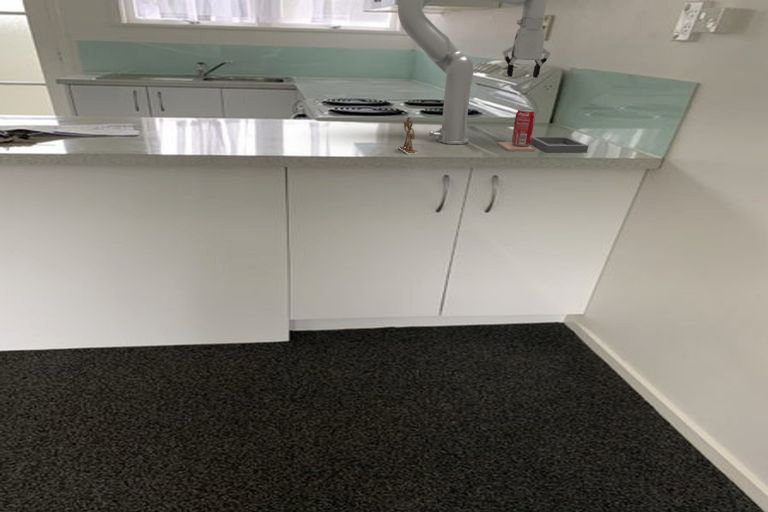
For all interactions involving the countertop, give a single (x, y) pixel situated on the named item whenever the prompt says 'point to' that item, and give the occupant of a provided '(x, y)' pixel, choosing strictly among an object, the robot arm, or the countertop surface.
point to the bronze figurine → (406, 124)
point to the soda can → (523, 127)
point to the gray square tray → (569, 147)
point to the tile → (514, 147)
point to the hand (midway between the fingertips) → (522, 76)
